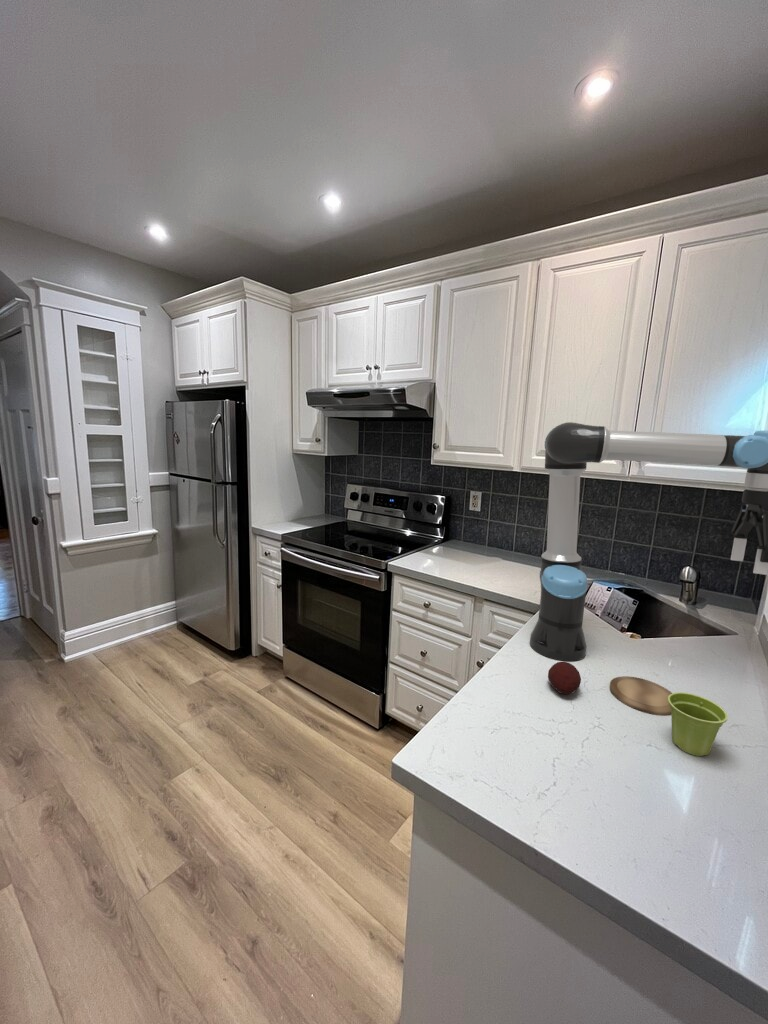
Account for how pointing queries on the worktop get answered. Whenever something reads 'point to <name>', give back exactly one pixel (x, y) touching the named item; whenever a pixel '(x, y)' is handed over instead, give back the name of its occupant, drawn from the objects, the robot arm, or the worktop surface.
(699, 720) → the plant pot
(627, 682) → the plate
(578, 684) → the potato
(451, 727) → the worktop surface
